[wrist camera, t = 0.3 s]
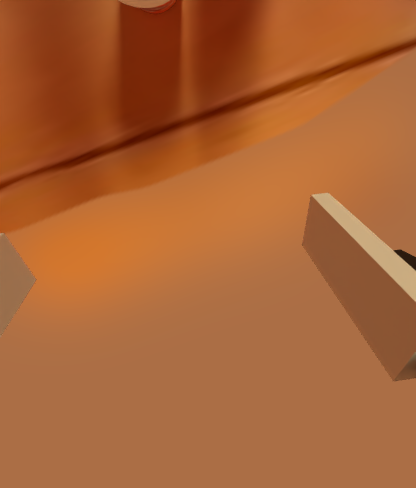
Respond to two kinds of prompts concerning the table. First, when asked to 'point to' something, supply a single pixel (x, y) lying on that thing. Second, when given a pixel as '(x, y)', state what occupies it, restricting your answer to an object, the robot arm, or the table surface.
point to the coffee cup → (150, 5)
